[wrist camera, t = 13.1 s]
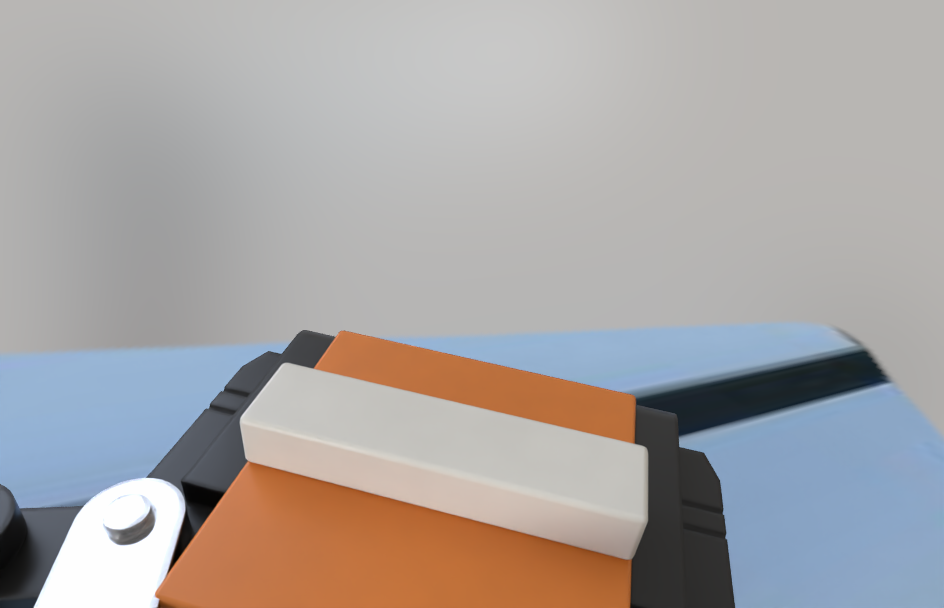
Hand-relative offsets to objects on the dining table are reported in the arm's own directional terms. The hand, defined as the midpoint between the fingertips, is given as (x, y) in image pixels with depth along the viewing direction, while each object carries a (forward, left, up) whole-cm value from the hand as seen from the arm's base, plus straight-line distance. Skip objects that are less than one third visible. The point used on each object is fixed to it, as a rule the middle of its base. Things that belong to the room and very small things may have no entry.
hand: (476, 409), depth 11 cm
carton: (+1, -2, -8) cm, 8 cm away
